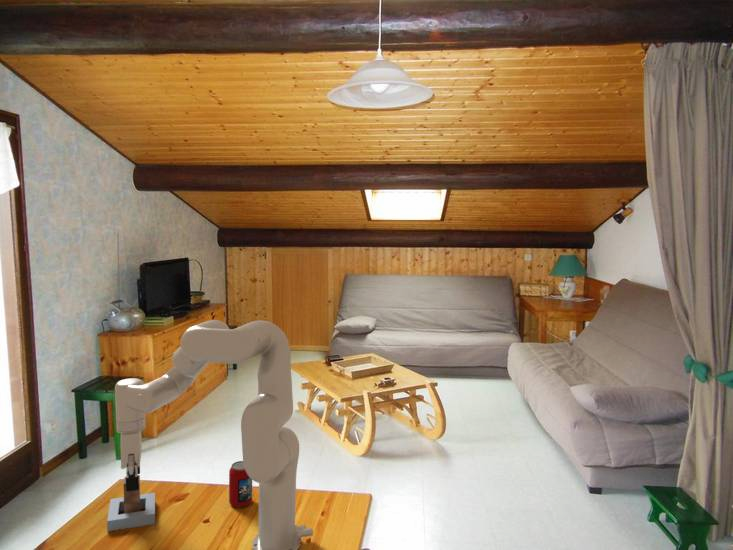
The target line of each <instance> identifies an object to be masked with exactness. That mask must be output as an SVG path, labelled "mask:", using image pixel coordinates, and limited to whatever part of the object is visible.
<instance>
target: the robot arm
mask: <svg viewBox="0 0 733 550" xmlns="http://www.w3.org/2000/svg"><path fill="white" fill-rule="evenodd" d="M258 356H259V363H258V367H257V396H256V398H255V399H253V400H252V401H250V402H249V403H248V405H246V407H245V408H244V410H243V412H242V416H241V420H240V421H241V422H240V429H241V431H240V433H241V435H240V436H241V447H242V448H241V449H242V451H241V452H242V461H243V464H244V468H245V471H246V473H247V474H248V476H249V477H250V478H251V479H252V482H255V483H258V526H257V527H258V531H257V532H258V533H257V534H256V535H255V536H254V538H253V540H252V541H251V548H252V550H297V549H298V548H299V546H300V547H301V544H300V543H302V542H301V539H302V538H305V537H310V536H311V537H312V536H314V532H313V527H307V526H306V524H302V525H301V524H300V525H296V503H297V502H296V498H297V497H296V495H297V471H298V463H299V456H300V442H299V438H298V436H297V434H296V433H295V432H294V431H293V430H292V429H291V428H288V427H285V425H286V424H287V423H288V422H289V421H290V419H291V418H292V417H293V411H294V398H293V397H294V396H293V381H292V379H293V378H292V366H291V365H292V361H291V357H292V356H291V347H290V344H289V339H288V337H287V336H286V334H285V333H284V331H283V330H282V329H281V328H280V327H279V326H277V324H275V323H273V322H271V321H267V320H261V319H260V320H253V321H250V322H248V323H245V324H243V325H241V326H238V327H236V328H230V327H229V326H228V324H227V323H225V322H224V321H221V320H219V319H218V320H217V319H211V320H207V321H204V322H201V323H198V324H196V325H193V326H190V327H189V328H187V329H186V330H185V331H184V333H182V336H181V339H180V346H179V347H178V348H177V349H176V350H175V351H174V353H172V356H171V360H172V365H173V366H172V367H171V368H170V369H169V370H168V371H167V372H166V373H165V374H163V375H162V376H160V377H158V378H156V379H154V380H152V381H149V382H146V383H145V382H144V381H143V380H142V379H140V378H136V377H132V378H130V377H129V378H125V379H121V380H119V381H117V382H116V384H115V386H114V399H115V400H114V401H115V403H114V404H115V421H116V423H115V424H116V425H115V428H116V433H118V434H120V440H119V441H120V469H121V470H124V469H125V470H126V474H125V475H126V476H125V477H126V491H127V492H128V491H135V490H138V489H139V475H140V474H141V461H142V460H141V458H142V450H143V449H142V447H143V446H142V443H143V442H142V431H144V430H145V429H146V428H147V424H146V423H147V422H146V414H149V413H153V412H155V411H157V410H159V409H161V408H162V407H164V406H165V405H168V404H169V403H172V402H174V401H175V400H177V399H178V398H179V397H180V396H181V395H182V394H183V393H184V392H185V391H187V390H188V388H190V387H191V385H193V383H194V382H195V381H196V380H197V378H198V376H199V374H200V373H201V372H202V371H203V370H204V369H205V368H206V367H207V366H208V365H209V364H210V363H217V364H218V363H219V364H232V365H234V364H244V363H246V362H248V361H251V360H252V359H254V358H256V357H258ZM299 549H300V548H299ZM299 549H298V550H299Z"/></svg>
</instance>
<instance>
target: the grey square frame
mask: <svg viewBox="0 0 733 550" xmlns="http://www.w3.org/2000/svg"><path fill="white" fill-rule="evenodd" d="M141 509H145V510H142V511H141ZM120 511H121V512H124V496H123V497H122V496H121V497H115V498H110V501H109V508H108V514H107V517H106V519H107V520H106V531H108V532H113V530H114V531H119V530H118V529H121V530H125V529H126V528H127V529H131V528H137V527H138V528H139V527H145V526H152V525H155V524H156V493H155V492H151V493H149V492H148V493H143V494H140V511H139V512H133V513H126V514H124V513H121V512H120ZM119 513H120V514H119Z"/></svg>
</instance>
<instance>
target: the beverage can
mask: <svg viewBox="0 0 733 550" xmlns="http://www.w3.org/2000/svg"><path fill="white" fill-rule="evenodd" d="M228 473H229V474H228V497H229V498H228V502H229V504H230V505H231V506H232V507H235V508H244V507H246V505H247V506H248V505H249V504H251V503H252V501H253V480H252V479H251V478H250V477H249V476H248V474H247V473H246V471H245V468H244V464H243V460H240V461H239V460H238V461H235V462H233V463H232V464H231V467H230V469H229V470H228Z"/></svg>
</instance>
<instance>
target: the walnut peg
mask: <svg viewBox="0 0 733 550" xmlns="http://www.w3.org/2000/svg"><path fill="white" fill-rule="evenodd" d="M138 475H139V489H138V490H135V491H128V492H127V491H126V476H124V478H123V497H124V511H123V514H126V513H133V512H139V511H141V509H140V495H141V483H140V482H141V477H140V476H141V475H140V474H138Z"/></svg>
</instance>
